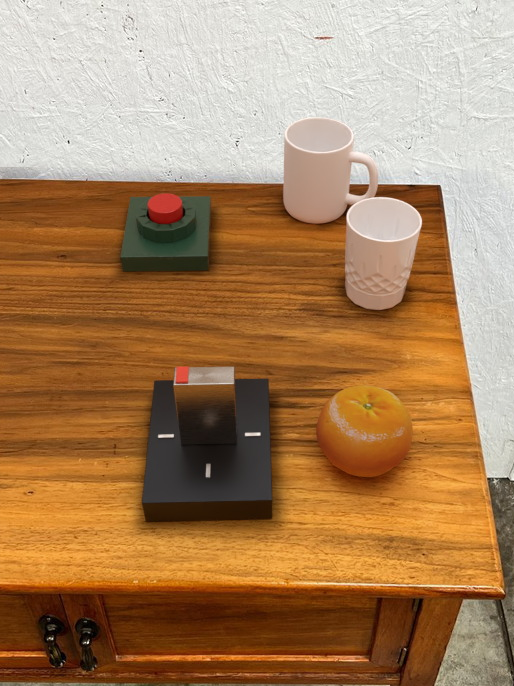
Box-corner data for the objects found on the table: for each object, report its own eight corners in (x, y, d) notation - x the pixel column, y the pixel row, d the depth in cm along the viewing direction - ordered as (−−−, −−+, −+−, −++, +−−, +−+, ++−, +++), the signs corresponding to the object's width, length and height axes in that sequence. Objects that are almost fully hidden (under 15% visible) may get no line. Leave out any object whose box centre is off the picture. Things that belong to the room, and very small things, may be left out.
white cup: (337, 310, 86) (343, 237, 79) (342, 266, 91) (349, 193, 84) (408, 317, 85) (421, 244, 78) (410, 272, 91) (422, 200, 84)
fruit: (427, 397, 73) (393, 365, 66) (423, 486, 70) (387, 461, 63) (346, 405, 77) (307, 375, 71) (339, 489, 74) (298, 465, 68)
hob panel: (157, 400, 77) (154, 379, 74) (268, 398, 77) (268, 377, 75) (145, 522, 67) (141, 501, 65) (272, 519, 68) (272, 498, 65)
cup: (297, 182, 103) (299, 111, 96) (383, 203, 100) (392, 131, 93) (272, 215, 98) (273, 143, 91) (362, 239, 95) (371, 166, 88)
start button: (150, 205, 93) (149, 193, 92) (183, 205, 93) (182, 192, 92) (147, 225, 90) (146, 213, 89) (182, 225, 91) (181, 212, 89)
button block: (132, 211, 98) (128, 184, 96) (211, 210, 99) (209, 183, 96) (122, 272, 90) (117, 244, 87) (208, 270, 91) (206, 243, 88)
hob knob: (237, 426, 71) (234, 364, 65) (237, 444, 69) (234, 381, 63) (182, 427, 71) (174, 365, 65) (181, 445, 69) (172, 382, 63)
